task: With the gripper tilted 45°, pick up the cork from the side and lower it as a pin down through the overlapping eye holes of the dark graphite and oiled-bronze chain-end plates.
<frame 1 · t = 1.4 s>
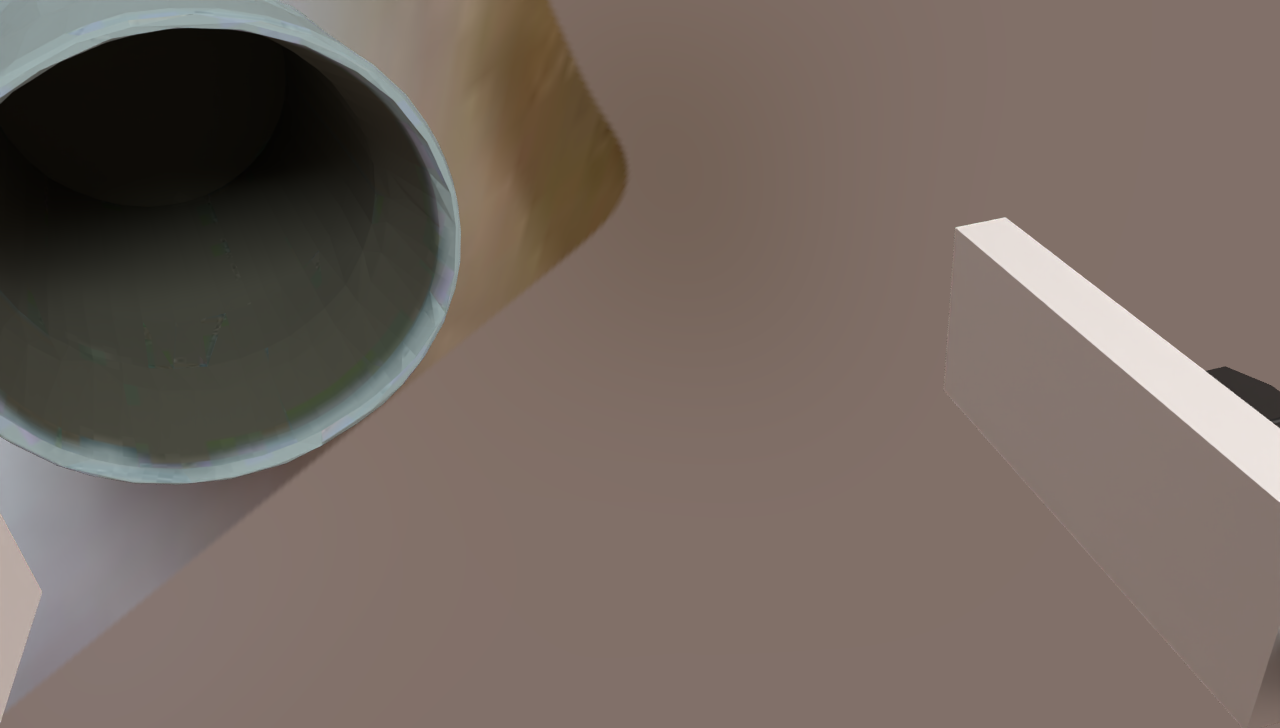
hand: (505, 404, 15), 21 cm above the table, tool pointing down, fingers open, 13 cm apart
grey green cup: (140, 71, 30), on the table
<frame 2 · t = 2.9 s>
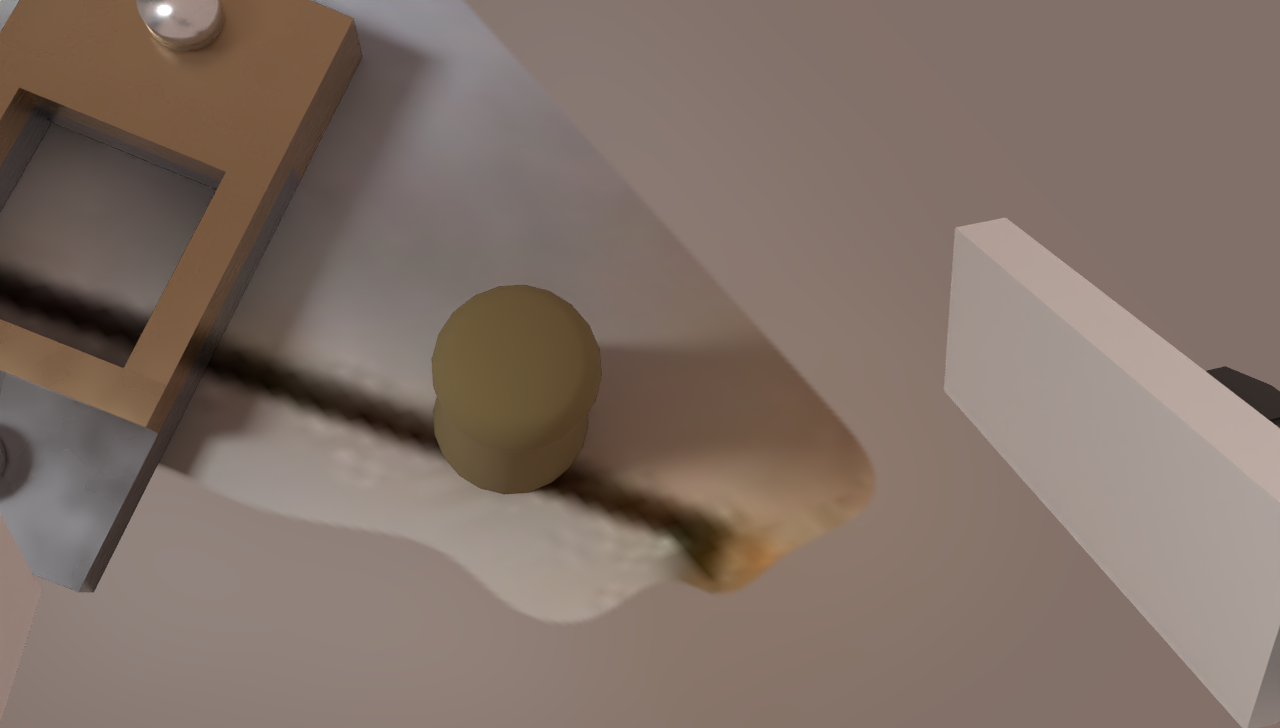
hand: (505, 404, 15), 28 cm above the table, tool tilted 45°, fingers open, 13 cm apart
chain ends: (99, 250, 42), on the table
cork: (511, 417, 43), on the table
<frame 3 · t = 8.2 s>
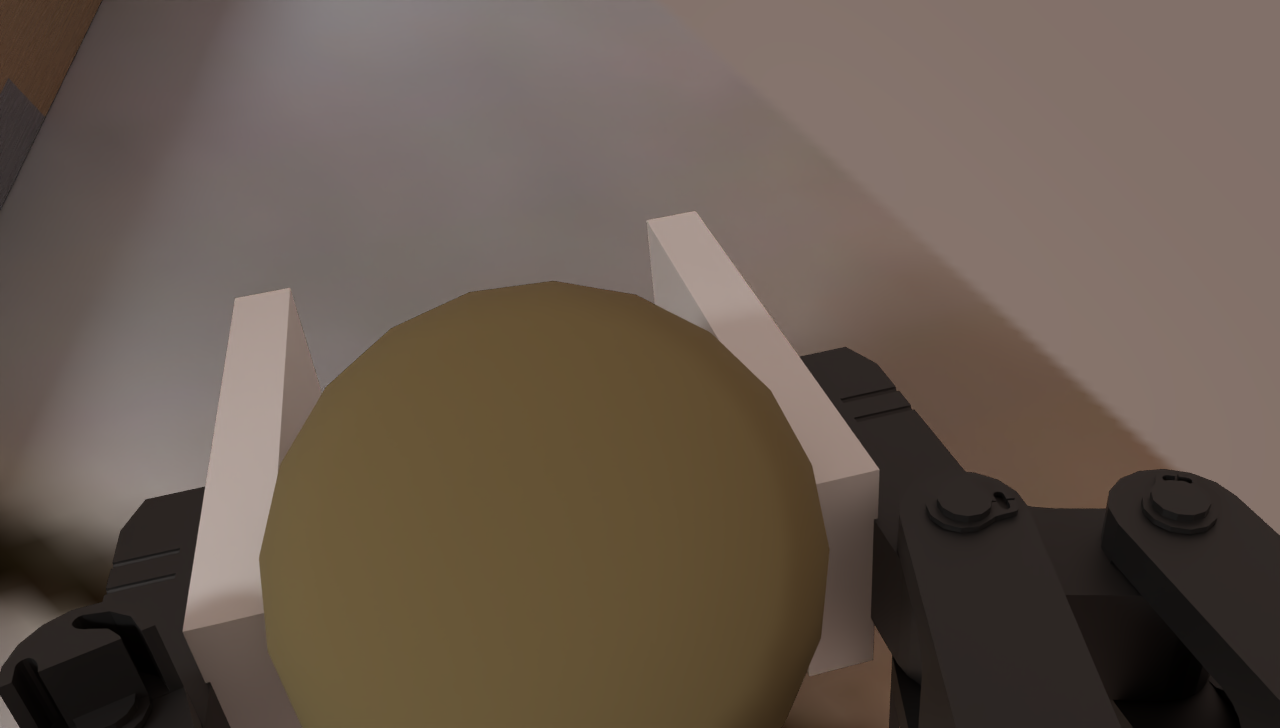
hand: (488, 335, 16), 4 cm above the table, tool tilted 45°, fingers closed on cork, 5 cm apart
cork: (538, 590, 19), on the table, touching gripper
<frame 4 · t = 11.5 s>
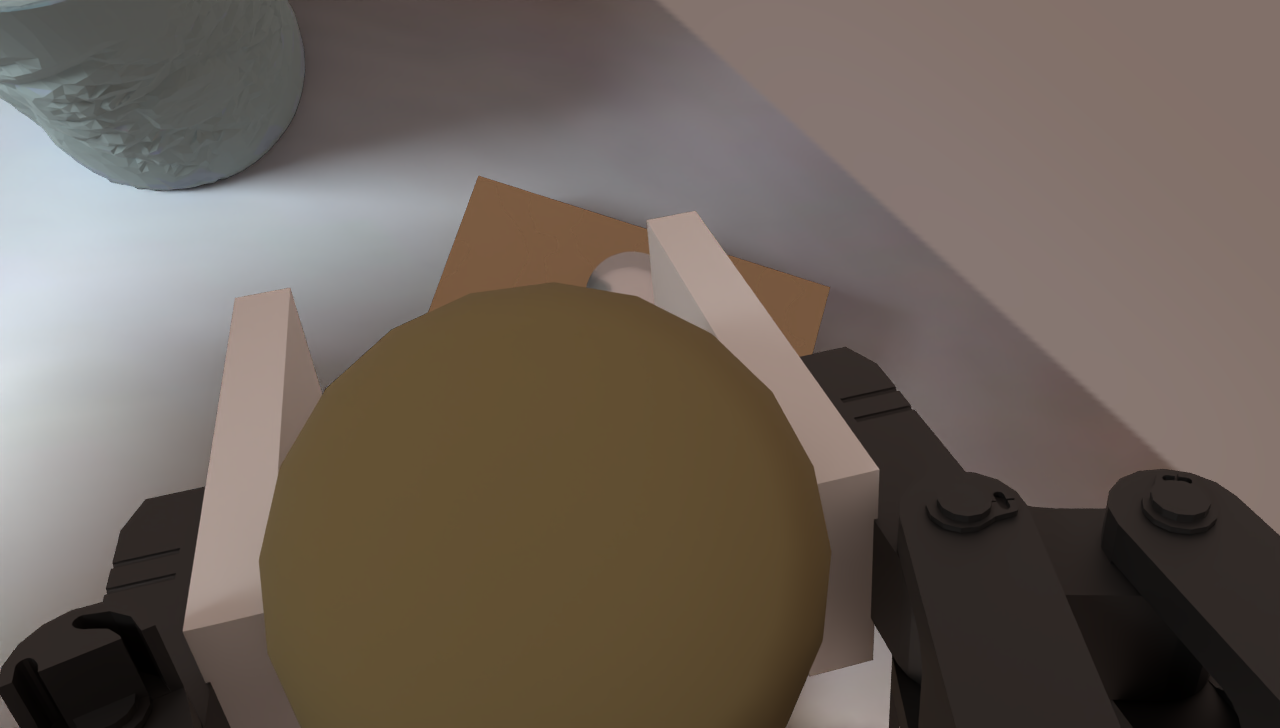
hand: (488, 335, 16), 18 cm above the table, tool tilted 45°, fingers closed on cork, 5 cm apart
grey green cup: (168, 73, 36), on the table
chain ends: (536, 608, 33), on the table
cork: (538, 591, 19), point 14 cm above the table, touching gripper
when the fingers open (6 cm above the table, at t = 14.8 s): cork drops 2 cm, resting in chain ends.
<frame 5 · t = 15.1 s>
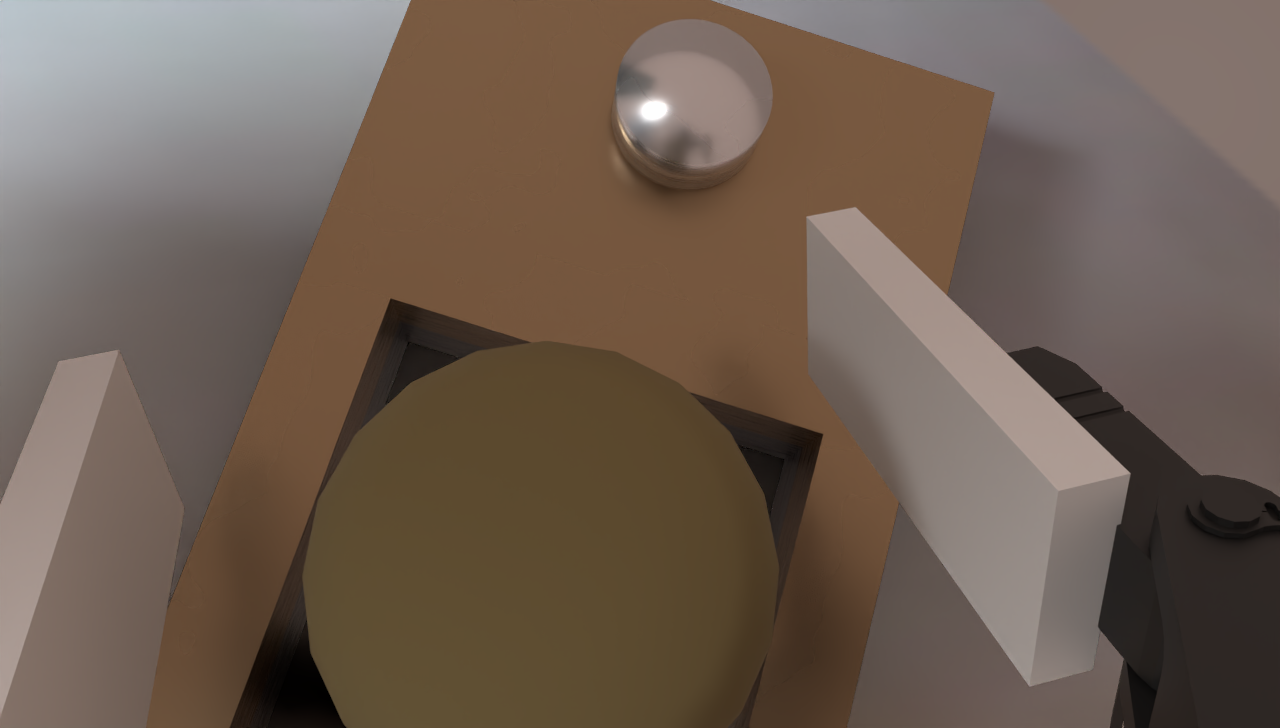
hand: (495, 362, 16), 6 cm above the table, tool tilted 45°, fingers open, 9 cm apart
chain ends: (536, 593, 21), on the table
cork: (536, 596, 21), resting in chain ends
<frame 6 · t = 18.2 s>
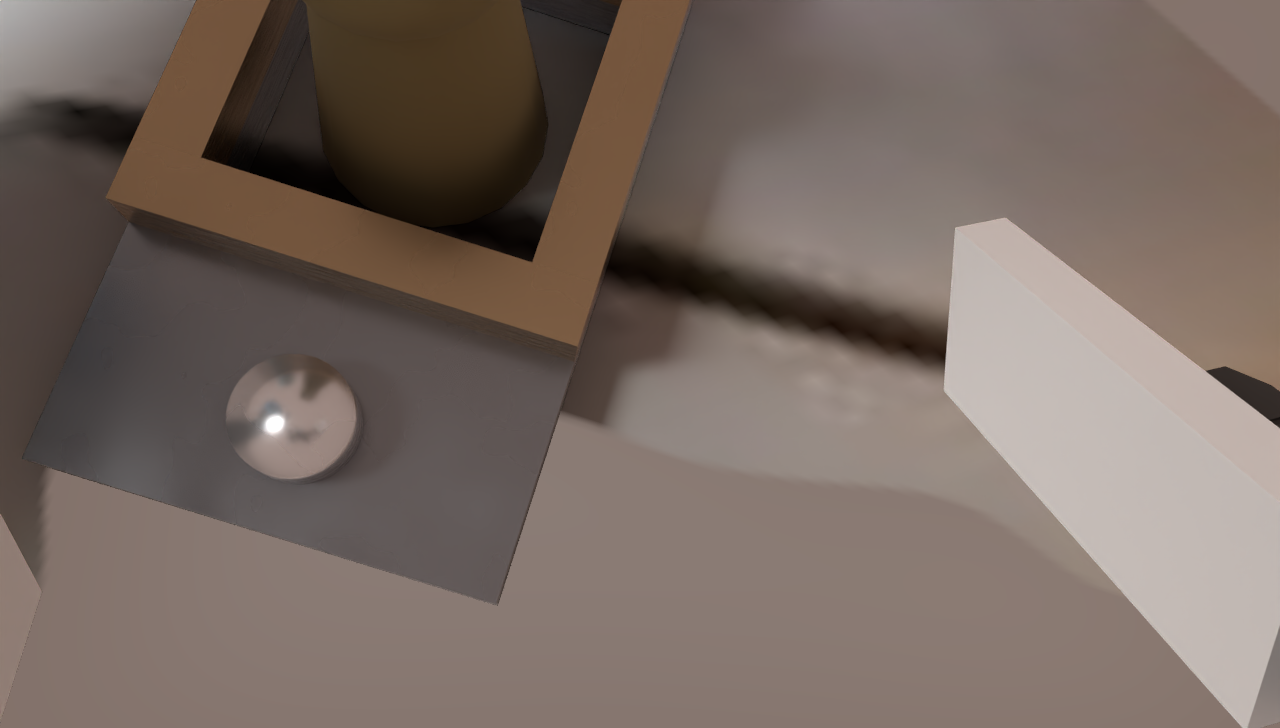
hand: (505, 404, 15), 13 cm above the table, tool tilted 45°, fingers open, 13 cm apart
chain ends: (434, 119, 29), on the table
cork: (435, 124, 29), resting in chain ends
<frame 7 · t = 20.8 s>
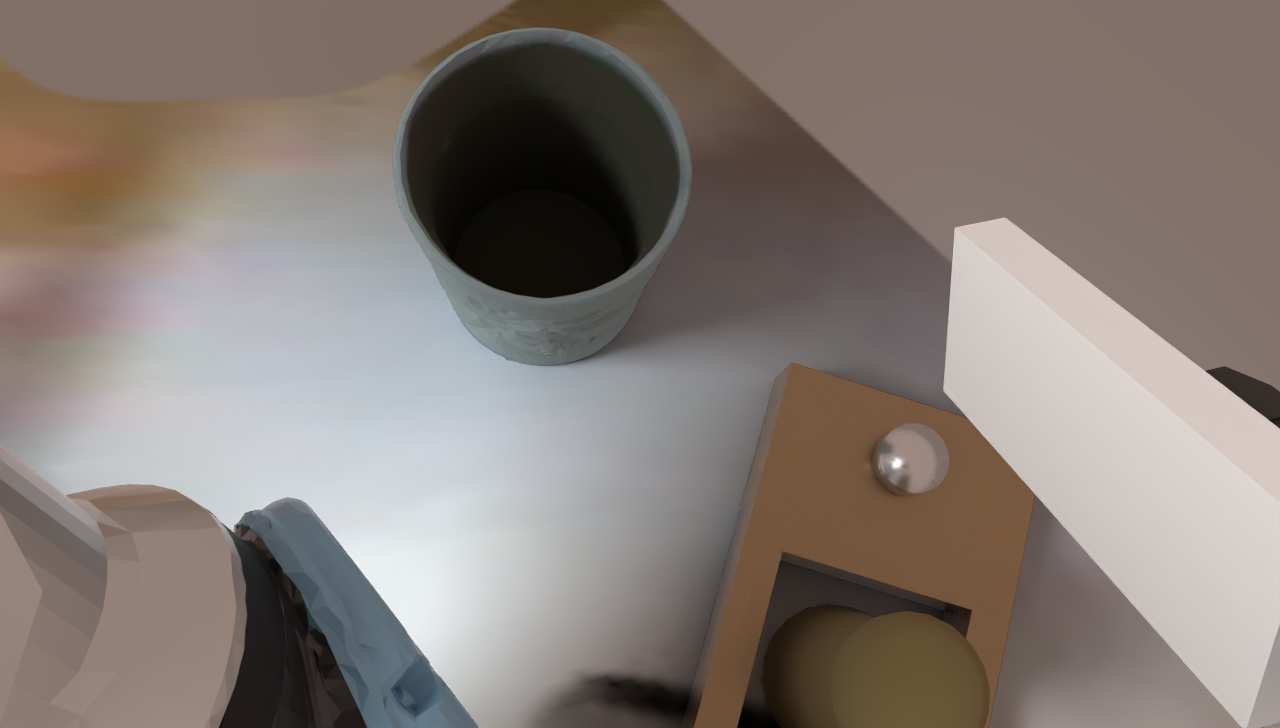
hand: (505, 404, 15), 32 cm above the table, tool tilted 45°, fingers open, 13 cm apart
grey green cup: (538, 273, 48), on the table
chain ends: (833, 677, 45), on the table
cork: (831, 678, 46), resting in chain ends
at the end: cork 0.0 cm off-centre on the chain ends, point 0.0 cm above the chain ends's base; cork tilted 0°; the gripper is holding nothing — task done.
